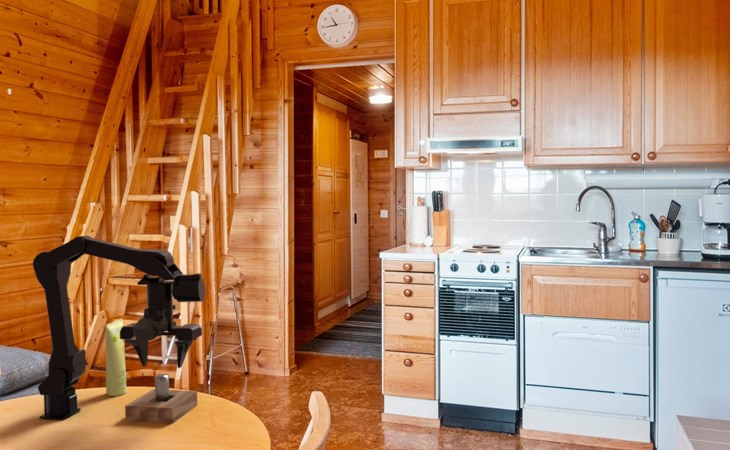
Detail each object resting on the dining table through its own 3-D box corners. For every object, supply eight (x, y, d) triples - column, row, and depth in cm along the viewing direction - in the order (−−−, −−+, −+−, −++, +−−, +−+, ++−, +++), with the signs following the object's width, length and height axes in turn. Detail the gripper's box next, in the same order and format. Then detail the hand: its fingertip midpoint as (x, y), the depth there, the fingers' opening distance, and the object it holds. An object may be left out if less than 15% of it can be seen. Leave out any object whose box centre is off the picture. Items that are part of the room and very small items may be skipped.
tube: (128, 394, 152) (126, 321, 151) (108, 398, 149) (105, 324, 149) (124, 389, 157) (122, 318, 156) (104, 392, 154) (102, 320, 153)
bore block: (125, 420, 134) (125, 405, 134) (153, 402, 146) (153, 389, 146) (172, 423, 132) (172, 408, 132) (197, 405, 143) (197, 391, 143)
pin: (153, 410, 137) (152, 377, 137) (160, 405, 140) (159, 373, 140) (165, 411, 137) (164, 378, 136) (172, 406, 140) (171, 374, 140)
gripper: (103, 308, 132) (106, 375, 132) (178, 309, 128) (181, 378, 129) (132, 300, 142) (134, 362, 143) (202, 301, 139) (204, 364, 140)
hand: (162, 367), depth 138 cm, fingers open, 9 cm apart
